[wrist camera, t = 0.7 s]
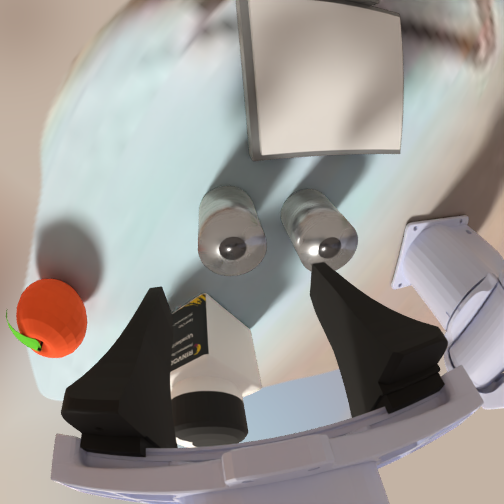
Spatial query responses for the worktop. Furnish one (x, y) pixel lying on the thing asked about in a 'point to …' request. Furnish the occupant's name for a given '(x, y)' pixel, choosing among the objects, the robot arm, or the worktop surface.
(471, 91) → the worktop surface
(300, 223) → the spacer
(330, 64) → the scale
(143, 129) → the worktop surface
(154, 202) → the worktop surface
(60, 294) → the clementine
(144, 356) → the robot arm
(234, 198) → the spacer
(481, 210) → the worktop surface
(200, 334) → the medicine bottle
